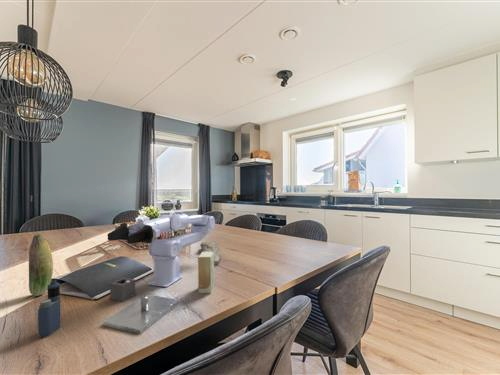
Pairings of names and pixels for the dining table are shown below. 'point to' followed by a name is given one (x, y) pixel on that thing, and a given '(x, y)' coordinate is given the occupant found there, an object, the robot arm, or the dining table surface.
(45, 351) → the dining table surface
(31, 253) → the vegetable
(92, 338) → the dining table surface
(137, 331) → the shaft plate
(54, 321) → the vaping device
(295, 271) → the dining table surface
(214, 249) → the elongated rock
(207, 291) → the skincare box
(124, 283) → the hollow square box
